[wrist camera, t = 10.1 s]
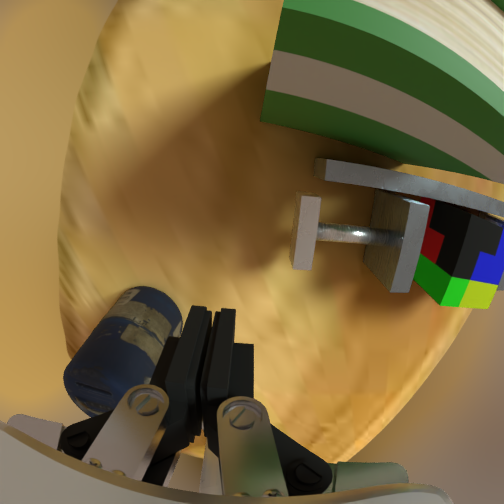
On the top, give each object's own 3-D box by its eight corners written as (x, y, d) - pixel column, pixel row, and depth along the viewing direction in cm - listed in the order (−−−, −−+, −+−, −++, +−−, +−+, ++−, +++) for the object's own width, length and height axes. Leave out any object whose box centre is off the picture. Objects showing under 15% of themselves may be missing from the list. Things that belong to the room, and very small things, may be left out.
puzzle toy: (468, 212, 30) (515, 234, 20) (448, 276, 33) (487, 309, 24) (421, 195, 29) (471, 213, 20) (400, 267, 32) (439, 305, 23)
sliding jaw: (379, 262, 32) (408, 292, 24) (285, 256, 32) (294, 289, 24) (392, 192, 29) (429, 206, 21) (293, 178, 29) (307, 187, 21)
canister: (179, 348, 37) (146, 453, 20) (119, 327, 36) (64, 418, 19) (191, 294, 34) (148, 407, 17) (123, 272, 33) (45, 361, 16)
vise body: (476, 268, 32) (506, 290, 25) (303, 257, 32) (317, 289, 24) (492, 198, 28) (527, 211, 21) (315, 158, 28) (336, 160, 20)
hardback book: (413, 108, 25) (583, 98, 3) (404, 163, 28) (582, 212, 5) (273, 60, 24) (314, -108, 2) (259, 121, 27) (282, 7, 4)
